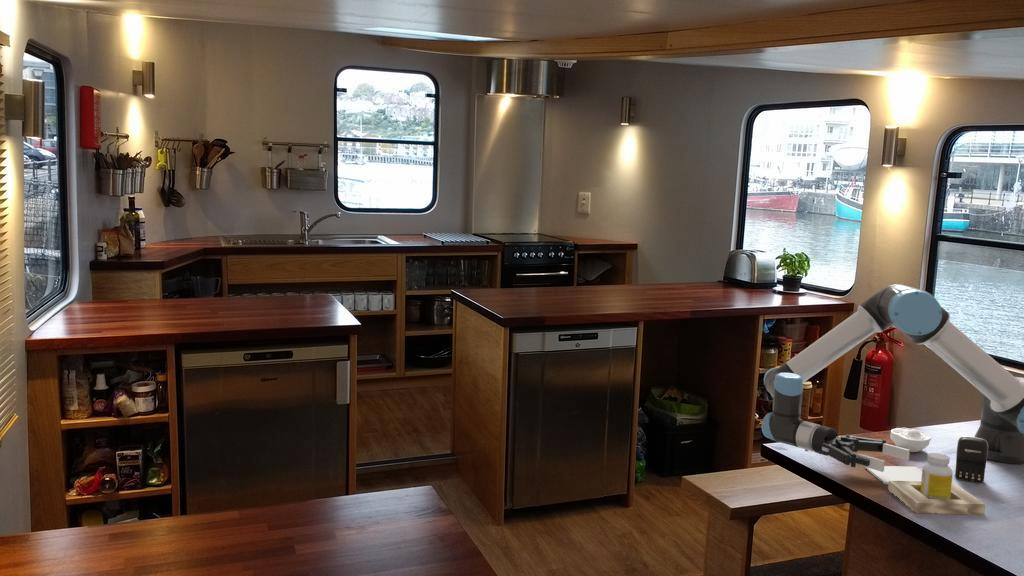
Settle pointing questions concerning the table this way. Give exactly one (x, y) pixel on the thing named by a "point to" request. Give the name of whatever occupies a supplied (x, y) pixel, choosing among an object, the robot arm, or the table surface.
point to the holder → (920, 504)
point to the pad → (897, 474)
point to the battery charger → (971, 459)
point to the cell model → (910, 439)
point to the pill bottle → (936, 477)
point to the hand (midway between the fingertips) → (896, 460)
